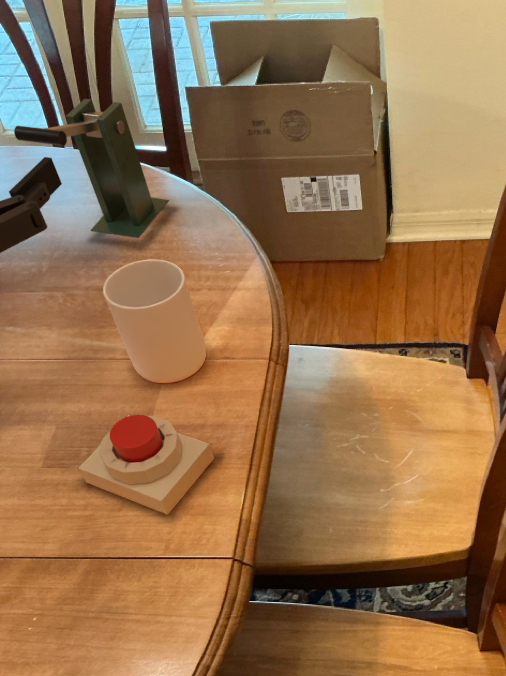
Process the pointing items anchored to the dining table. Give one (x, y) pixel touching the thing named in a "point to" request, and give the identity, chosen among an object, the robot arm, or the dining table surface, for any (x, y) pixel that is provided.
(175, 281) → the cup
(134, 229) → the lock bracket
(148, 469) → the confirm box
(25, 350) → the dining table surface
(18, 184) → the robot arm
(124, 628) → the dining table surface
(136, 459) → the button
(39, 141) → the bolt lever
